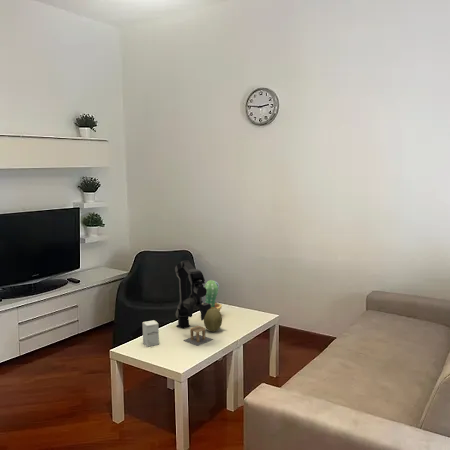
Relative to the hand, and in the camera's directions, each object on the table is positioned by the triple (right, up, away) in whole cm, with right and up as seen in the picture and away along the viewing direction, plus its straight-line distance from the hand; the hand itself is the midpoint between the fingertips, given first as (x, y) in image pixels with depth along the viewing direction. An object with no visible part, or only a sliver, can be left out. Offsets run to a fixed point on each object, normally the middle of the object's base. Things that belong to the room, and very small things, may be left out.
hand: (196, 318), depth 274 cm
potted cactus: (+7, -8, +42) cm, 43 cm away
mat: (+1, -13, +1) cm, 13 cm away
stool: (+1, -12, +1) cm, 12 cm away
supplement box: (-26, -14, -3) cm, 30 cm away
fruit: (+9, -11, +16) cm, 22 cm away
